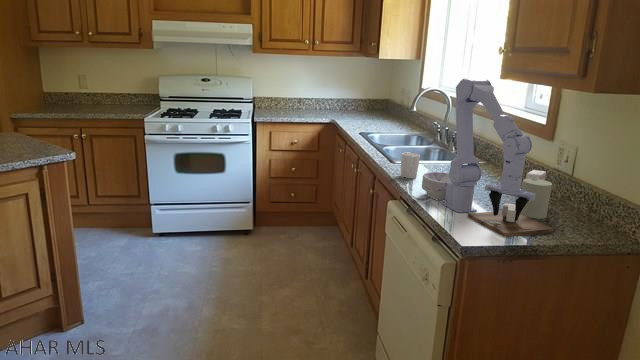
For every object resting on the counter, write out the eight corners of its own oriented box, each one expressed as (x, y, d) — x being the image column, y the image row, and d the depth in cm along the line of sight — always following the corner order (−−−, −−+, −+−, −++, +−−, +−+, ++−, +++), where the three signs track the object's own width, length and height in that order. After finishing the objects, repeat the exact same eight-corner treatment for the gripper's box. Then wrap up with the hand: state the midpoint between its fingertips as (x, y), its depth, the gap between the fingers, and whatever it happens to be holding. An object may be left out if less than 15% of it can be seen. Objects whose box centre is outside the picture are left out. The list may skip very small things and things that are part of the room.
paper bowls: (452, 206, 167) (455, 184, 165) (413, 196, 176) (415, 176, 174) (468, 197, 178) (471, 177, 176) (431, 189, 187) (433, 169, 185)
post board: (467, 216, 156) (468, 208, 155) (511, 213, 162) (512, 205, 161) (504, 237, 140) (506, 227, 139) (552, 232, 146) (554, 223, 145)
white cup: (421, 178, 203) (423, 155, 200) (405, 179, 200) (407, 156, 197) (411, 174, 210) (413, 152, 207) (395, 175, 207) (397, 152, 204)
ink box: (528, 199, 181) (533, 169, 177) (541, 202, 178) (547, 171, 175) (521, 203, 174) (526, 172, 171) (534, 206, 171) (540, 175, 168)
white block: (501, 211, 153) (503, 201, 152) (518, 213, 151) (519, 203, 150) (501, 220, 144) (503, 209, 143) (519, 223, 143) (521, 212, 142)
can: (538, 210, 167) (544, 177, 164) (551, 219, 158) (558, 184, 155) (513, 209, 167) (518, 176, 164) (524, 218, 158) (530, 183, 155)
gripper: (483, 172, 145) (477, 214, 148) (532, 182, 136) (524, 226, 139) (492, 168, 150) (486, 209, 154) (540, 178, 141) (532, 221, 144)
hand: (505, 217), depth 147 cm, fingers open, 5 cm apart
